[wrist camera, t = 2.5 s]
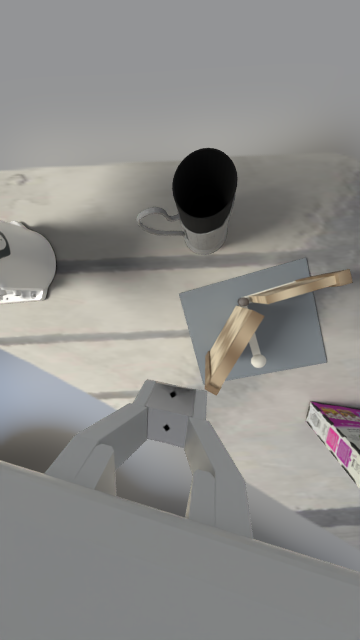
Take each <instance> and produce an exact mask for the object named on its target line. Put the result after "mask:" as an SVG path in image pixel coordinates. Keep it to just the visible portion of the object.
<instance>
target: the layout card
mask: <svg viewBox="0 0 360 640" xmlns="http://www.w3.org/2000/svg"><path fill="white" fill-rule="evenodd" d="M306 277H310V275H309V270H308V265H307V260H306V258H302V259H299V260H295V261H292V262H288V263H285V264H281V265H278V266H274V267H271V268H267V269H264V270H260V271H257V272H253V273H250V274H246V275H243V276H239V277H236V278H232V279H229V280H225V281H222V282H218V283H215V284H211V285H208V286H204V287H201V288H197V289H194V290H190V291H187V292H183V293H180V294H179V296H180V299H181V303H182V307H183V310H184V314H185V318H186V321H187V325H188V329H189V333H190V336H191V340H192V344H193V347H194V351H195V355H196V359H197V362H198V366H199V370H200V373H201V377H202V381H203V384H204V385H205V356H206V354H207V352H208V351H210V350H211V348H212V346H213V345H214V343H215V341H216V340H217V338H218V336H219V334H220V333H221V331H222V329H223V327H224V326H225V324H226V322H227V320H228V319H229V317H230V315H231V314H232V312H233V310H234V308H235V307H236V306H239V307H243V308H246V309H249V310H253V311H255V312H257V313H259V314H261V315H263V316H265V317H264V318H263V320H262V321H261V323H260V325H259V326H258V328H257V329H256V331H255V333H254V334H253V336H252V337H251V339H250V341H249V342H248V344H247V346H246V347H245V349H244V350H243V352H242V354H241V355H240V357H239V358H238V360H237V362H236V363H235V365H234V367H233V368H232V370H231V371H230V373H229V375H228V376H227V378H226V379H225V381H227V380H233V379H238V378H244V377H249V376H255V375H260V374H266V373H272V372H277V371H283V370H288V369H294V368H299V367H305V366H311V365H316V364H322V363H327V361H326V356H325V351H324V346H323V341H322V336H321V331H320V326H319V321H318V316H317V311H316V306H315V301H314V296H313V291H312V292H308V293H305V294H301V295H298V296H294V297H291V298H288V299H284V300H281V301H277V302H274V303H270V304H262V303H254V302H250V298H249V296H252V295H255V294H258V293H261V292H265V291H268V290H271V289H274V288H278V287H281V286H284V285H288V284H291V283H294V282H296V281H295V280H298V279H302V278H306ZM239 298H247V299H248V300H249V304H248V305H247V306H241V305H239V304H238V302H237V301H238V299H239Z"/></svg>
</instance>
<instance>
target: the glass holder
mask: <svg viewBox="0 0 360 640" xmlns="http://www.w3.org/2000/svg"><path fill="white" fill-rule="evenodd" d="M236 188H237V172H236V168H235V166H234V164H233V162H232V160H231V159H230V158H229V156H227V155H226V154H225V153H224V152H222V151H220V150H217V149H214V148H203V149H199V150H196V151H194V152H192V153H191V154H189V155H188V156H187V157H186V158H185V159H184V160H183V161H182V162H181V163H180V165H179V166H178V168H177V170H176V172H175V175H174V178H173V185H172V190H173V196H174V199H175V202H176V206H177V209H178V214H177V215H174V216H169V215H168V214H167V212H166V211H165V210H164V209H162V208H158V207H152V208H148V209H145V210H143V211H141V212H140V213H139V214H138V215H137V223H138V225H139V226H140V227H141V228H142V229H143V230H144V231H146V232H148V233H152V234H155V235H183V236H184V240H185V243H186V245H187V246H188V247H189V249H190V250H192V251H193V252H195V253H197V254H201V255H207V254H211V253H213V252H215V251H217V250H218V249H219V248H220V247H221V246H222V245H223V243H224V241H225V239H226V236H227V225H228V221H229V218H230V214H231V211H232V208H233V204H234V200H235V192H236ZM153 213H158V214H162V215H164V216H165V217H166V219H167V220H168V221H176V220H179V219H180V222H181V224H182V227H183V230H184V232H183V231H159V230H154V229H151V228H148V227H146V226H144V225H143V224H142V223H141V222H140V220H141V219H142V218H143V217H145V216H147V215H149V214H153Z"/></svg>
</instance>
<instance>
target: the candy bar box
mask: <svg viewBox="0 0 360 640" xmlns="http://www.w3.org/2000/svg"><path fill="white" fill-rule="evenodd" d="M306 422H307V423H308V424H309V426H310V427H311V428H312V429H313V431H314V432H315V433H316V434H317V436H318V437H319V438H320V439H321V441H322V442H323V443H324V444H325V446H326V447H327V448H328V450H329V451H330V452H331V453H332V454H333V456H334V457H335V458H336V459H337V461H338V462H339V463H340V465H341V466H342V467H343V468H344V470H345V471H346V472H347V473H348V475H349V476H350V477H351V478H352V480H353V481H354V482H355V483H356V485H357V486H358V487H359V488H360V409H355V408H348V407H341V406H335V405H328V404H322V403H315V402H310V404H309V409H308V413H307V417H306Z"/></svg>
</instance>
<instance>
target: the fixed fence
mask: <svg viewBox="0 0 360 640" xmlns="http://www.w3.org/2000/svg"><path fill="white" fill-rule="evenodd" d="M295 281H296V282H294V283H291V284H288V285H284V286H281V287H278V288H274V289H271V290H268V291H265V292H261V293H258V294H255V295H252V296H249V298H250V302H254V303H262V304H270V303H274V302H277V301H281V300H284V299H288V298H291V297H294V296H298V295H301V294H305V293H308V292H312V291H315V290H318V289H322V288H325V287H335V286H343V285H346V284H349V283H353V282H352V277H351V273H350V269H347V270H342V271H337V272H332V273H326V274H321V275H316V276H311V277H306V278H302V279H298V280H295ZM237 302H238V304H239V305H241V306H247V305H248V304H249V300H248V299H247V298H239V299H238V301H237Z"/></svg>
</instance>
